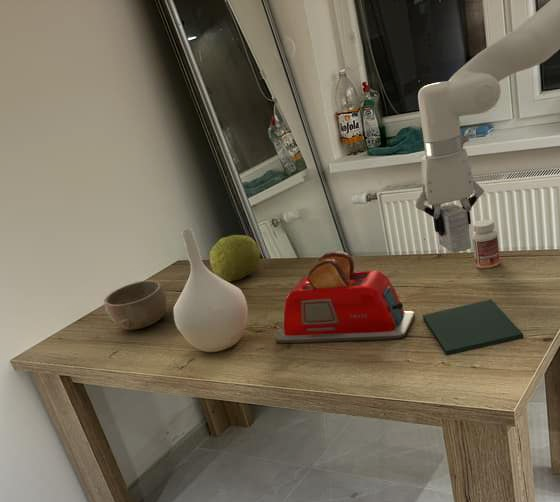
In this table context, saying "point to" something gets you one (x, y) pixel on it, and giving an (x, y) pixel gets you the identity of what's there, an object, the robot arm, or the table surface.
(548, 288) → the table surface
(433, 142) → the robot arm
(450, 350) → the mat
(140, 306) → the bowl
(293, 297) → the toaster
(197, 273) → the vase
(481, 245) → the pill bottle
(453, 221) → the medicine box
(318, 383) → the table surface
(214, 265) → the fruit
